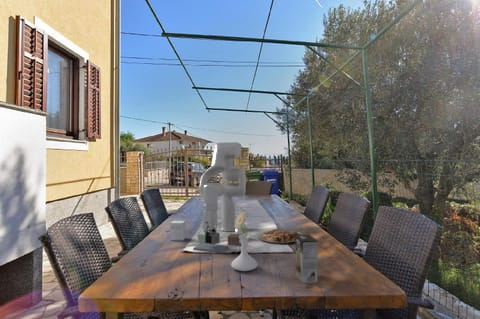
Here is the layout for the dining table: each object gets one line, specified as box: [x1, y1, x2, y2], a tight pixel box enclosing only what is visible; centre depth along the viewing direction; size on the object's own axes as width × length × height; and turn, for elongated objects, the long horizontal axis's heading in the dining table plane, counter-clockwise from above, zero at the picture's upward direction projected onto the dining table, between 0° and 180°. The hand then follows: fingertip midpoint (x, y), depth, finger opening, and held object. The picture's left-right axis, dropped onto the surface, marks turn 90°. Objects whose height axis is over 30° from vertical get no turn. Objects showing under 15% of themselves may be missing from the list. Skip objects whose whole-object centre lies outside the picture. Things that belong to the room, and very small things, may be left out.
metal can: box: [234, 227, 245, 235], centre depth 168 cm, size 5×5×6 cm
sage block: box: [197, 230, 206, 244], centre depth 162 cm, size 6×5×5 cm
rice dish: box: [257, 228, 305, 244], centre depth 168 cm, size 28×28×5 cm
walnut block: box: [227, 233, 241, 246], centre depth 157 cm, size 6×5×5 cm
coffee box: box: [294, 233, 319, 284], centre depth 111 cm, size 9×6×16 cm
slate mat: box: [193, 243, 229, 253], centre depth 149 cm, size 9×16×1 cm, turn 73°
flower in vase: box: [230, 211, 258, 272], centre depth 120 cm, size 13×11×25 cm
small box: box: [169, 220, 187, 241], centre depth 167 cm, size 8×6×10 cm
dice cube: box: [207, 231, 221, 245], centre depth 148 cm, size 5×5×5 cm
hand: (210, 241), depth 149 cm, fingers closed on dice cube, 6 cm apart
